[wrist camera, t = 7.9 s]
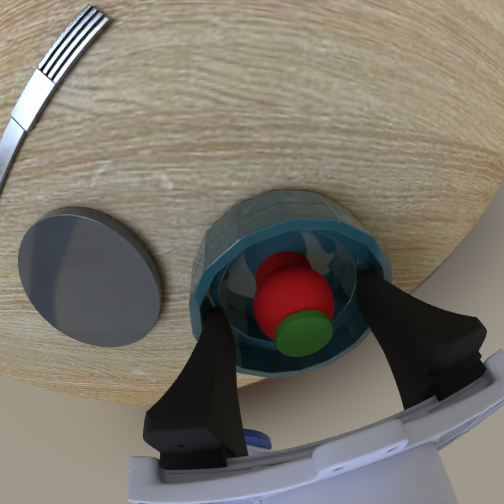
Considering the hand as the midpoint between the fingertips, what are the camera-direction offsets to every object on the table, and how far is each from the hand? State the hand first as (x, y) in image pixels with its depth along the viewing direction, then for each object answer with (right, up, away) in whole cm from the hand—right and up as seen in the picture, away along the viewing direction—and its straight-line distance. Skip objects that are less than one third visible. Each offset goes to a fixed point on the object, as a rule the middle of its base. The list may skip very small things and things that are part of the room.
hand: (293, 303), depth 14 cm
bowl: (0, +2, +3) cm, 3 cm away
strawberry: (0, +1, +2) cm, 2 cm away
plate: (-12, +1, +1) cm, 12 cm away
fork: (-15, +9, -4) cm, 18 cm away
